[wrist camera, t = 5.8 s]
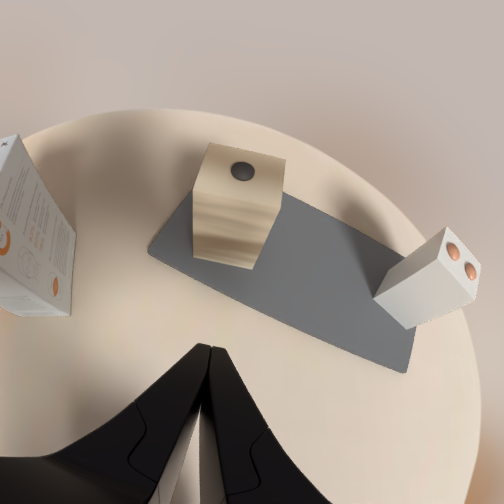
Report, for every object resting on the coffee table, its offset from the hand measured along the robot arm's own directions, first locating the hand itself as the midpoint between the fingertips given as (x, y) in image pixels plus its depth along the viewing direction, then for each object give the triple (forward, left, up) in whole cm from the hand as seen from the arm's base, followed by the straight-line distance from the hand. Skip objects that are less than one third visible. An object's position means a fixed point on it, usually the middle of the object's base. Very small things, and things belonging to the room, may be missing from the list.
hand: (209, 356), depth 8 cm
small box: (-14, +9, -14) cm, 21 cm away
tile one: (+3, +10, -13) cm, 17 cm away
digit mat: (+10, +8, -13) cm, 19 cm away
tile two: (+19, +3, -13) cm, 23 cm away
